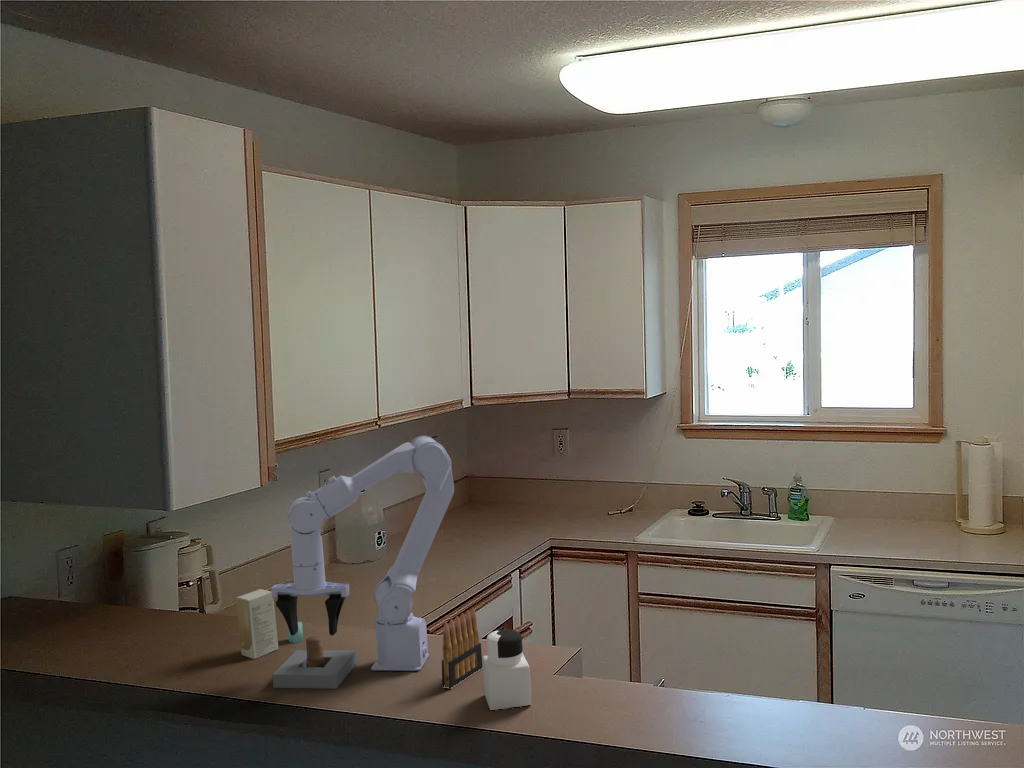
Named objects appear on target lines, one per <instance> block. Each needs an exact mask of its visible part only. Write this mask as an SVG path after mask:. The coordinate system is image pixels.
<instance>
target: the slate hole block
mask: <svg viewBox="0 0 1024 768" xmlns="http://www.w3.org/2000/svg"><path fill="white" fill-rule="evenodd" d="M323 658H324V668H321V667H308V663H307V649H296V650H295V651H294V652H293V654H291V655H290V656H289V657H288V659H286V661H284V662H283V663H282V665H281V666H279V667H278V668H277V670H276V671H274V672H273V674H272V684H273V687H272V688H273V689H330V690H331V689H333V690H334V689H338V687H339V686H340V685H341V684H342V683H343V681H344V680H345V679H346V677H347V676H348V675H349V674H348V673H351V671H352V670H353V668H354V667H355V666H356V665H357V663H358V662H357V661H358V660H357V659H358V658H357V650H356V649H355V650H343V649H342V650H339V649H337V650H335V649H334V650H333V649H331V650H329V649H328V650H325V649H323ZM355 664H356V665H355ZM354 665H355V666H354ZM351 669H352V670H351ZM347 674H348V675H347ZM344 678H345V679H344ZM340 683H341V684H340Z"/></svg>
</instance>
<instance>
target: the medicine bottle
mask: <svg viewBox="0 0 1024 768" xmlns="http://www.w3.org/2000/svg"><path fill="white" fill-rule="evenodd" d="M486 649H487V650H486V651H487V652H486V653H487V655H482V665H483V669H482V673H483V674H482V676H483V677H482V678H483V693H484V696H485V697H484V698H485V700H486V702H487V705H488V707H489V710H490V711H491V710H495V709H503V708H509V707H517V706H523V705H531V706H532V689H531V686H532V685H531V673H530V672H531V668H530V665H529V663H528V660H527V659H526V657H525V655H524V652H523V651H524V650H523V636H522V634H521V632H519V631H517V630H514V629H511V628H509V629H507V628H505V629H504V628H502V629H497V630H495V631H492V632H489V634H488V635H487V637H486ZM503 710H504V709H503ZM495 711H496V710H495Z"/></svg>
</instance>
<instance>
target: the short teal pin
mask: <svg viewBox="0 0 1024 768" xmlns="http://www.w3.org/2000/svg"><path fill="white" fill-rule="evenodd" d="M286 626H287V639H288V640H287V641H288V643H290V644H296V643H297V644H298V643H301V642H303V641H304V633H303V630H304V629H303V622H302V621H298V632H297V633H296V634H295V635H291V634H290V631H289V628H288V625H287V624H286Z"/></svg>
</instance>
